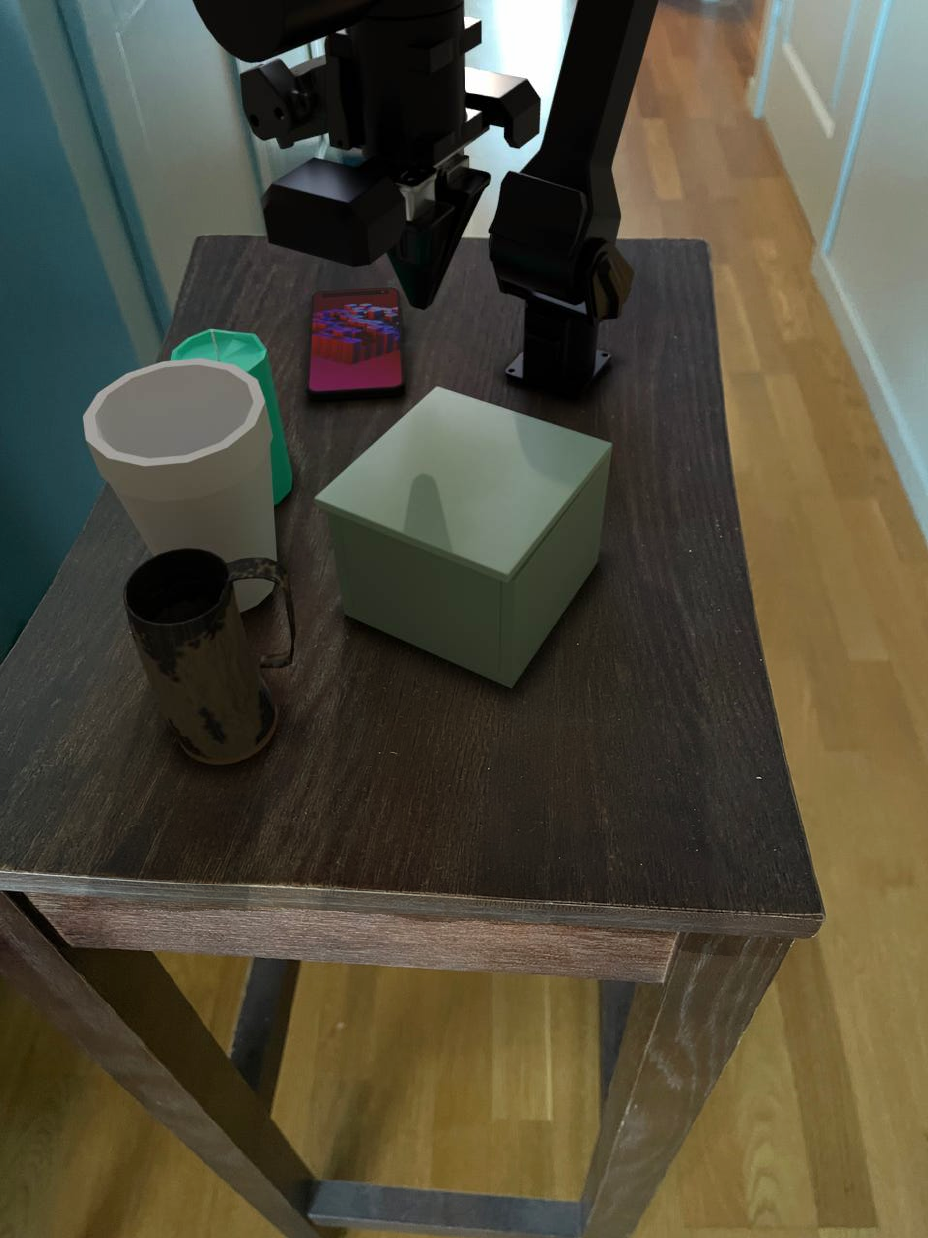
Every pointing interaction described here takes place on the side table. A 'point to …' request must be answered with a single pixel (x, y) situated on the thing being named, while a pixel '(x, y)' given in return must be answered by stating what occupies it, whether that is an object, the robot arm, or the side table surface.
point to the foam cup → (190, 461)
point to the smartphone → (355, 344)
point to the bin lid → (467, 481)
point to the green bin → (470, 589)
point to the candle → (255, 362)
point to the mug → (205, 650)
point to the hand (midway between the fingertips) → (421, 305)
